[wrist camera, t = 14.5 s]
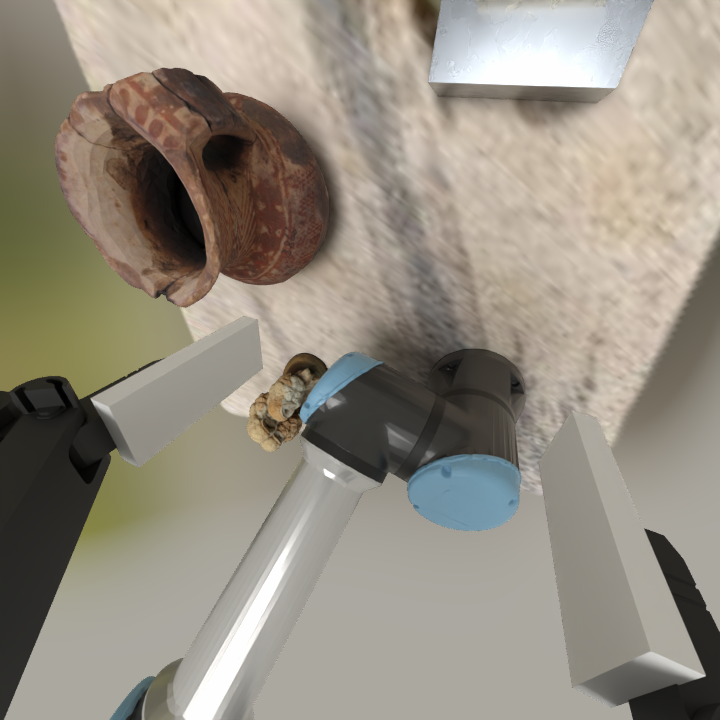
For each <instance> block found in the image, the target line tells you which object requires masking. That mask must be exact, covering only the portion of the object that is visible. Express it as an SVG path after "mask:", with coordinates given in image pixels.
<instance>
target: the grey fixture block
mask: <svg viewBox="0 0 720 720" xmlns="http://www.w3.org/2000/svg"><path fill="white" fill-rule="evenodd" d="M653 1H654V0H442V1H441V7H440V13H439V19H438V25H437V31H436V38H435V44H434V50H433V56H432V62H431V68H430V74H429V80H428V83H429V84H430V85H431V87H432V88H433V90H434V91H435V93H436V94H437V95H438V96H449V97H472V98H494V99H517V100H540V101H562V102H585V103H598V102H599V101H600V100H602V99H603V98H604V97H605V96H607V95H608V94H609V93H611V92H612V91H613V90H615V89H616V88H617V85H618V83H619V80H620V78H621V76H622V73H623V71H624V69H625V66H626V64H627V62H628V59H629V57H630V55H631V52H632V50H633V48H634V45H635V43H636V41H637V38H638V36H639V34H640V31H641V29H642V26H643V24H644V22H645V19H646V17H647V15H648V12H649V10H650V8H651V5H652V3H653Z"/></svg>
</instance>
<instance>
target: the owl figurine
mask: <svg viewBox="0 0 720 720" xmlns="http://www.w3.org/2000/svg"><path fill="white" fill-rule="evenodd" d="M327 370H328V369H327V368H326V367H325V364H324V363H323V362H322V361H321V360H320V359H318V358H317V357H316V356H313V355H311V354H308V353H301V354H298V355H296V356H294V357H293V358H292V359H291V360H290V361H289V362H288V364H287V365H286V367H285V369H284V373H283V376H281V377H280V378H279V379H278V380H277V381H276V383H275V384H273V385H272V386H271V388H270V389H269V392H268V393H265V394H263V393H262V394H260V396H259V398H257V399H256V400H255V403H253V404H252V405H251V407H250V414H249V415H250V417H249V420H248V422H247V426H246V429H247V432H248V434H249V435H250V437H251V438H252V439H253V440H254V441H256V442H258V443H260V444H261V446H262V448H263V449H264V450H266V451H269V452H273V451H276V450H277V449H278V448H279V447H280V446H281V444H282V443H284V442H287V441H290V440H292V439H293V437H295V436H296V435H297V434H298V433H299V430H300V429H301V426H302V420H301V419H300V416H299V415H300V410H301V408H302V406H303V404H304V403H305V402H306V400H307V397H308V395H309V394H310V392H311V391H312V389H313V388H314V386H315V385H316V384H317V382H318V381H319V380H320V378H321V377H322V376H323V375H324V374H325V372H326V371H327ZM298 414H299V415H298Z"/></svg>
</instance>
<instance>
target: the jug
mask: <svg viewBox="0 0 720 720" xmlns="http://www.w3.org/2000/svg"><path fill="white" fill-rule="evenodd" d="M55 150H56V167H57V171H58V175H59V180H60V185H61V189H62V192H63V194H64V197H65V199H66V202H67V204H68V206H69V209H70V211H71V213H72V214H73V216H74V217H75V219H76V220H77V222H78V223H79V224H80V226H81V227H82V229H83V230H84V232H85V233H86V234H87V235H88V236H90V237H91V238H92V239H93V240H94V243H95V245H96V247H97V248H98V250H99V251H100V252H101V254H102V255H103V257H104V258H105V260H106V261H107V263H108V264H109V266H110V267H111V268H112V269H114V270H115V271H116V272H117V273H118V274H119V275H120V276H121V277H122V278H123V279H124V280H125V281H126V282H127V283H128V284H130V285H131V286H133V287H135V288H139V289H142V290H144V291H145V292H146V293H147V294H148V295H150V296H151V297H153V298H158V297H159V296H160V295H161V294H163V295H166V298H167V300H168V301H170V302H172V303H173V304H175V305H177V306H179V307H185V308H186V307H188V306H190V305H192V304H194V303H195V302H197V301H199V300H200V299H202V298H203V297H204V296H205V295H207V293H208V292H209V291H210V290H211V288H212V287H213V285H214V283H215V282H216V280H217V278H218V275H219V273H220V272H221V273H222V274H224V275H226V276H228V277H230V278H233V279H235V280H238V281H241V282H244V283H247V284H254V285H272V284H277V283H281V282H284V281H286V280H288V279H289V278H291V277H292V276H294V275H295V274H296V273H298V272H299V271H300V270H301V269H303V268H304V267H305V266H306V265H307V264H308V263H309V262H310V261H311V260H312V259H313V257H314V256H315V255H316V253H317V252H318V250H319V249H320V247H321V245H322V244H323V242H324V239H325V235H326V232H327V227H328V221H329V198H328V192H327V188H326V184H325V181H324V177H323V175H322V172H321V170H320V168H319V166H318V163H317V161H316V159H315V157H314V155H313V153H312V151H311V149H310V148H309V146H308V145H307V143H306V141H305V140H304V139H303V137H302V136H301V135H300V133H299V132H298V131H297V130H296V128H295V127H294V126H293V125H292V124H291V123H290V122H289V121H288V120H287V119H286V118H285V117H283V116H282V115H281V114H280V113H279V112H277V111H276V110H275V109H273V108H272V107H270V106H269V105H267V104H265V103H263V102H260V101H258V100H256V99H254V98H252V97H248V96H245V95H242V94H238V93H230V92H227V93H223V92H222V91H221V90H220V89H219V88H218V87H217V86H216V85H215V84H214V83H213V82H212V81H210V80H209V79H208V78H206V77H205V76H200V75H194V74H193V73H192V72H190V71H188V70H186V69H181V68H173V69H168V68H161V69H158V70H155V71H152V73H144V72H141V73H138V74H135V75H132V76H130V77H127V78H124V79H122V80H119V81H117V82H116V83H114V84H108V85H106V86H105V87H104V90H103V91H100V92H83V93H82V94H80V95H78V97H77V98H76V99H75V101H74V102H73V103H72V108H71V112H70V114H69V117H68V118H66V119H65V121H64V123H63V124H62V125H61V127H60V131H59V134H58V135H57V136H56V140H55Z"/></svg>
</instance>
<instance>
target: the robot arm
mask: <svg viewBox="0 0 720 720" xmlns="http://www.w3.org/2000/svg"><path fill="white" fill-rule="evenodd" d="M261 369H263V364H262V355H261V345H260V336H259V327H258V320H257V319H253V318H250V317H246V316H243V317H241V318H239V319H237V320H236V321H234V322H232V323H230V324H228V325H226V326H224V327H223V328H221V329H219V330H217V331H215V332H213V333H211V334H210V335H208V336H206V337H204V338H202V339H200V340H198V341H196V342H195V343H193V344H191V345H189V346H187V347H185V348H183V349H182V350H180V351H178V352H176V353H174V354H172V355H170V356H168V357H166V358H163V359H160V360H157V361H153V362H151V363H149V364H147V365H145V366H143V367H141V368H139V370H138V371H134V372H132V373H130V374H128V376H127V377H125V376H124V377H122V378H120V379H119V380H117V381H115V382H113V383H111V384H109V385H107V386H105V387H104V388H102V389H100V390H98V391H96V392H94V393H92V394H90V395H88V396H86V397H84V398H82V399H80V400H79V399H78V397H77V396H76V394H75V392H74V390H73V388H72V387H71V385H70V383H69V381H68V380H67V379H66V378H64V377H60V376H48V377H42V378H37V379H34V380H31V381H28V382H25V383H23V384H21V385H19V386H17V387H15V388H14V389H13V390H11V391H10V392H5V391H0V720H4V718H5V716H6V713H7V711H8V708H9V706H10V703H11V701H12V699H13V696H14V694H15V691H16V689H17V686H18V684H19V682H20V679H21V677H22V674H23V672H24V670H25V667H26V665H27V662H28V660H29V657H30V655H31V652H32V650H33V648H34V645H35V643H36V640H37V638H38V636H39V633H40V630H41V628H42V626H43V623H44V621H45V619H46V616H47V614H48V611H49V609H50V607H51V604H52V602H53V599H54V597H55V594H56V592H57V589H58V587H59V585H60V582H61V580H62V577H63V575H64V573H65V570H66V568H67V565H68V563H69V561H70V558H71V556H72V553H73V551H74V549H75V546H76V544H77V541H78V539H79V536H80V534H81V532H82V529H83V527H84V524H85V522H86V520H87V517H88V515H89V512H90V510H91V507H92V505H93V503H94V500H95V498H96V495H97V493H98V491H99V488H100V486H101V483H102V481H103V479H104V476H105V474H106V471H107V469H108V466H109V464H110V461H111V456H110V454H109V453H110V452H111V451H113V450H114V449H115V448H117V449H118V451H119V453H120V455H121V457H122V458H123V460H125V461H127V462H129V463H131V464H133V465H135V466H137V467H141V466H142V465H143V464H144V463H146V462H147V461H148V460H149V459H150V458H152V457H153V456H154V455H155V454H157V453H158V452H159V451H160V450H162V449H163V448H164V447H165V446H167V445H168V444H169V443H170V442H172V441H173V440H174V439H175V438H177V437H178V436H179V435H180V434H182V433H183V432H184V431H185V430H187V429H188V428H189V427H190V426H192V425H193V424H194V423H195V422H197V421H198V420H199V419H200V418H202V417H203V416H204V415H205V414H206V413H208V412H209V411H210V410H211V409H213V408H214V407H215V406H217V405H218V404H219V403H220V402H221V401H223V400H224V399H225V398H226V397H228V396H229V395H230V394H231V393H233V392H234V391H235V390H236V389H238V388H239V387H240V386H241V385H243V384H244V383H245V382H246V381H248V380H249V379H250V378H251V377H253V376H254V375H255V374H256V373H258V372H259V371H260V370H261ZM525 400H526V392H525V385H524V380H523V378H522V375H521V374H520V372H519V370H518V369H517V368H516V367H515V366H514V365H513V364H512V363H511V362H510V361H509V360H507V359H506V358H504V357H502V356H501V355H498V354H496V353H493V352H490V351H486V350H480V349H466V350H460V351H456V352H453V353H451V354H449V355H447V356H445V357H444V358H442V359H441V360H440V361H439V362H438V363H437V364H436V365H435V366H434V368H433V369H432V371H431V374H430V377H429V380H428V383H427V387H425V386H423V385H422V384H420V383H418V382H416V381H414V380H413V379H411V378H409V377H407V376H405V375H403V374H402V373H400V372H398V371H396V370H394V369H392V368H391V367H389V366H387V365H385V363H384V362H383V361H378V360H375V359H373V358H371V357H369V356H367V355H365V354H363V353H360V352H350V353H348V354H346V355H344V356H343V357H341V358H340V359H339V360H337V361H336V362H335V363H334V364H333V365H332V366H331V367H330V368H329V369H328V370H327V371H326V372H325V374H324V375H323V376H322V377H321V378H320V380H319V381H318V382H317V384H316V385H315V386H314V388H313V389H312V391H311V392H310V394H309V395H308V397H307V400H306V402H305V403H304V404H303V406H302V408H301V410H300V419H301V420H302V422H303V423H304V424H307V426H306V427H305V429H304V431H303V432H302V434H301V436H300V441H301V446H302V451H303V456H302V458H301V460H300V462H299V463H298V465H297V467H296V468H295V470H294V472H293V473H292V475H291V477H290V479H289V480H288V482H287V484H286V485H285V487H284V489H283V490H282V492H281V494H280V496H279V497H278V499H277V501H276V502H275V504H274V506H273V507H272V509H271V511H270V512H269V514H268V516H267V518H266V519H265V521H264V523H263V524H262V526H261V528H260V529H259V531H258V533H257V534H256V536H255V538H254V540H253V541H252V543H251V545H250V546H249V548H248V550H247V552H246V553H245V555H244V557H243V558H242V560H241V562H240V563H239V565H238V567H237V568H236V570H235V572H234V574H233V575H232V577H231V579H230V581H229V582H228V584H227V585H226V587H225V589H224V591H223V592H222V594H221V596H220V597H219V599H218V601H217V603H216V604H215V606H214V608H213V609H212V611H211V613H210V614H209V616H208V618H207V619H206V621H205V623H204V625H203V626H202V628H201V630H200V631H199V633H198V635H197V636H196V638H195V640H194V642H193V643H192V645H191V647H190V648H189V650H188V652H187V654H186V655H185V657H184V658H180V659H178V660H176V661H174V662H172V663H170V664H169V665H167V666H166V667H165V668H164V669H162V670H161V671H160V672H159V674H158V675H157V676H156V677H154V676H149V677H147V678H145V679H143V680H142V681H141V682H140V683H139V684H138V685H137V686H136V687H135V688H134V689H133V690H132V691H131V692H130V693H129V694H128V696H127V697H126V698H125V700H124V701H123V702H122V703H121V705H120V706H119V707H118V709H117V710H116V712H115V713H114V714H113V716H112V717H111V718H110V720H254V712H253V705H254V703H255V701H256V699H257V697H258V695H259V694H260V692H261V690H262V688H263V686H264V684H265V682H266V680H267V678H268V676H269V674H270V672H271V670H272V668H273V666H274V665H275V662H276V661H277V659H278V657H279V655H280V652H281V651H282V649H283V647H284V645H285V643H286V641H287V639H288V637H289V635H290V634H291V632H292V630H293V628H294V626H295V624H296V622H297V620H298V618H299V616H300V614H301V612H302V610H303V608H304V606H305V604H306V602H307V601H308V599H309V597H310V595H311V593H312V591H313V589H314V587H315V585H316V583H317V581H318V579H319V577H320V575H321V573H322V571H323V569H324V568H325V566H326V563H327V562H328V560H329V558H330V556H331V554H332V552H333V550H334V548H335V546H336V544H337V542H338V540H339V538H340V537H341V535H342V533H343V531H344V529H345V527H346V525H347V523H348V521H349V519H350V517H351V515H352V513H353V511H354V509H355V507H356V505H357V504H358V502H359V499H360V498H361V495H362V494H363V493H364V492H365V491H367V490H370V489H373V488H376V487H379V486H381V485H382V483H383V481H384V479H385V477H386V475H387V473H388V472H391V473H392V474H394V475H396V476H397V477H399V478H401V479H402V480H404V481H406V482H407V483H408V485H407V491H408V497H409V500H410V502H411V504H413V506H414V508H415V510H416V511H417V512H418V513H419V514H421V515H422V516H424V517H425V518H426V519H428V520H430V521H431V522H434V523H436V524H438V525H441V526H444V527H447V528H451V529H456V530H463V531H482V530H488V529H492V528H495V527H498V526H500V525H502V524H504V523H505V522H507V521H508V520H509V519H511V518H512V516H513V515H514V514H515V512H516V510H517V508H518V505H519V492H520V484H521V475H520V472H519V462H518V452H517V441H516V431H515V424H516V422H517V420H518V418H519V416H520V414H521V412H522V410H523V408H524V405H525ZM539 467H540V474H541V481H542V488H543V494H544V501H545V508H546V515H547V521H548V528H549V535H550V541H551V548H552V555H553V562H554V568H555V575H556V582H557V589H558V596H559V602H560V609H561V616H562V622H563V629H564V635H565V642H566V650H567V655H568V663H569V670H570V676H571V683H572V688H574V689H576V690H578V691H580V692H582V693H584V694H586V695H588V696H590V697H592V698H594V699H596V700H598V701H600V702H602V703H604V704H606V705H608V706H610V707H615V706H618V705H621V704H624V703H627V702H629V705H630V709H631V713H632V717H633V720H720V632H719V630H718V628H717V626H716V624H715V622H714V620H713V618H712V616H711V614H710V612H709V611H707V610H706V604H705V602H704V600H703V598H702V595H701V594H700V591H699V590H698V589H696V588H695V585H696V583H695V581H694V579H693V578H692V575H691V573H690V571H689V569H688V567H687V565H686V563H685V561H684V559H683V558H682V557H681V556H680V554H679V553H678V552H677V551H676V550H675V548H674V547H673V546H672V545H671V544H670V542H669V541H668V540H667V539H666V537H665V536H664V535H661V534H658V533H656V532H653V531H650V530H647V529H644V528H643V525H642V523H641V521H640V518H639V516H638V513H637V511H636V509H635V506H634V504H633V502H632V499H631V497H630V495H629V492H628V490H627V487H626V485H625V483H624V480H623V478H622V476H621V473H620V471H619V468H618V466H617V464H616V461H615V459H614V457H613V455H612V452H611V449H610V447H609V445H608V442H607V440H606V438H605V435H604V433H603V431H602V428H601V426H600V423H599V421H598V419H597V417H593V416H590V415H586V414H583V413H579V412H576V411H571V413H570V414H569V416H568V417H567V419H566V420H565V422H564V424H563V425H562V427H561V428H560V430H559V431H558V433H557V434H556V436H555V437H554V439H553V440H552V442H551V443H550V445H549V446H548V448H547V449H546V451H545V452H544V454H543V455H542V457H541V458H540V460H539Z"/></svg>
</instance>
